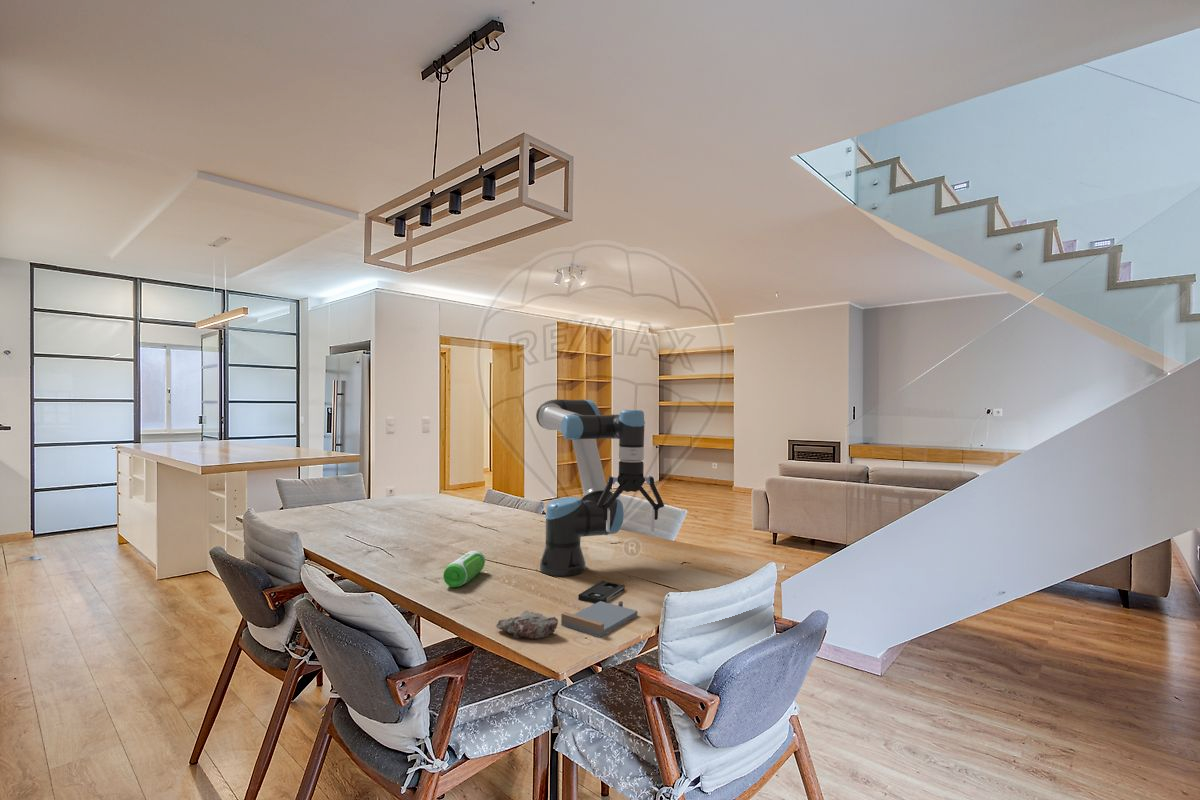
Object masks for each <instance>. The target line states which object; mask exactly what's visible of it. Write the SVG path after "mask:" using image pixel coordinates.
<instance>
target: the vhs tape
mask: <svg viewBox="0 0 1200 800" xmlns="http://www.w3.org/2000/svg"><path fill="white" fill-rule="evenodd" d="M624 591H625V585H624V584H621V583H615V582H610V581H609V582H608V581H605V580H600V581H599V582H597V583H595V584H594V585H592V586H591V587H588V588H587V589H586V590H584V591H582V592H581V593H579V594H578V595H577V598H578V601H582V602H587V603H593V604H595V603H597V602H599V601H602V602H606V603H609V601H611V600H612V599H614V598H616V596H619V595H620V594H621V593H623V592H624Z"/></svg>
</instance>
